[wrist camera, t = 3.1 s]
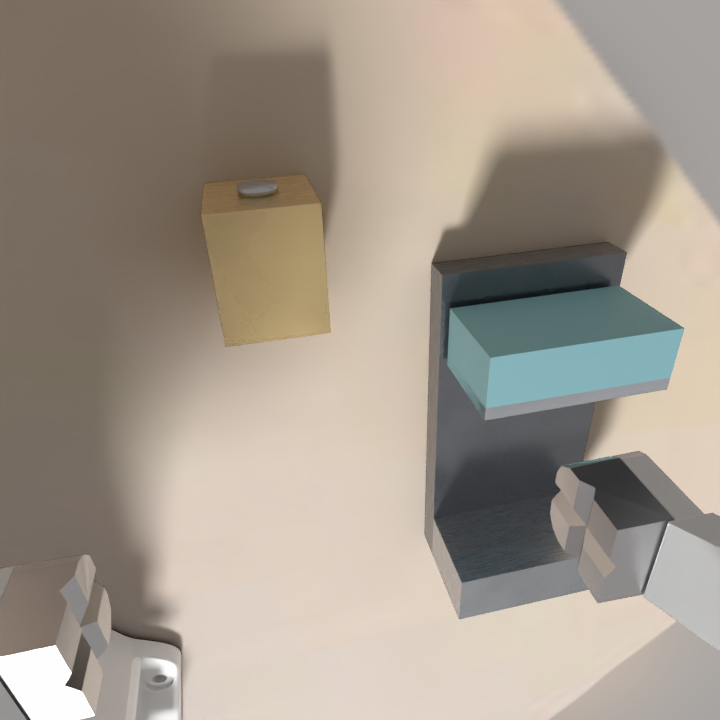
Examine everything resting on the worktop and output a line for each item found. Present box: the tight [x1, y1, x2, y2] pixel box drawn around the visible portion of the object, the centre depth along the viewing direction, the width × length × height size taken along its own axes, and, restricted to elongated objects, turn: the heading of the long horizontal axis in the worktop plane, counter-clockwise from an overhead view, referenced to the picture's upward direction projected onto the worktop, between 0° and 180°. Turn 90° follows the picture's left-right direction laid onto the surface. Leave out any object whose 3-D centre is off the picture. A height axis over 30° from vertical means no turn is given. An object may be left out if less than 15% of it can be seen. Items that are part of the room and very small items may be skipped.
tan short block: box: [201, 174, 331, 347], centre depth 22 cm, size 5×4×4 cm
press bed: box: [425, 242, 627, 619], centre depth 29 cm, size 18×9×6 cm, turn 2°
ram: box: [447, 286, 684, 420], centre depth 25 cm, size 3×8×4 cm, turn 92°
